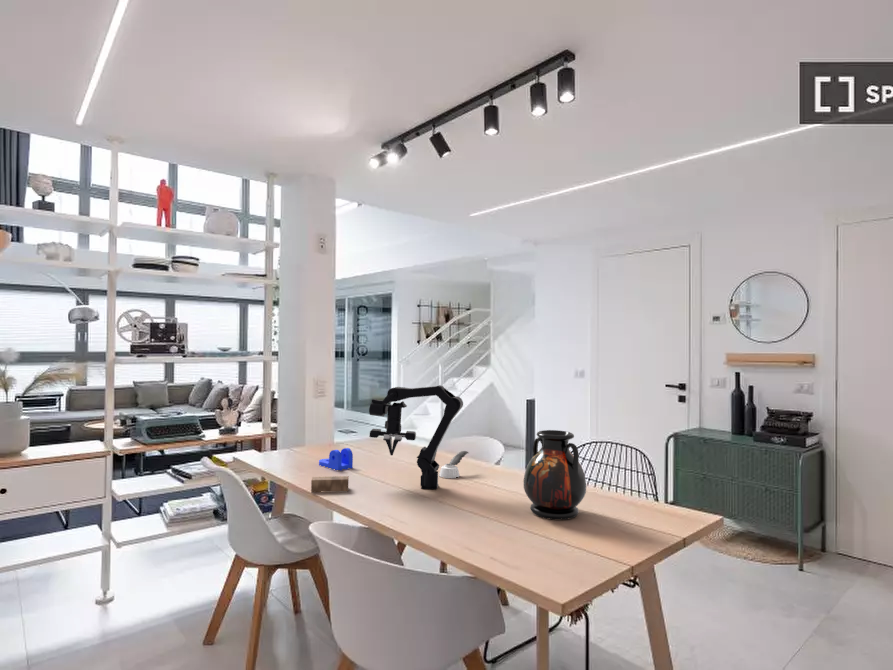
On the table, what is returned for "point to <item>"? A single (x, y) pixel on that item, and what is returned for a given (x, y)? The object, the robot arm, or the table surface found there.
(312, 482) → the walnut block
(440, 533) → the table surface
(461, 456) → the inkwell
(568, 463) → the amphora vase
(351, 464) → the bracket
